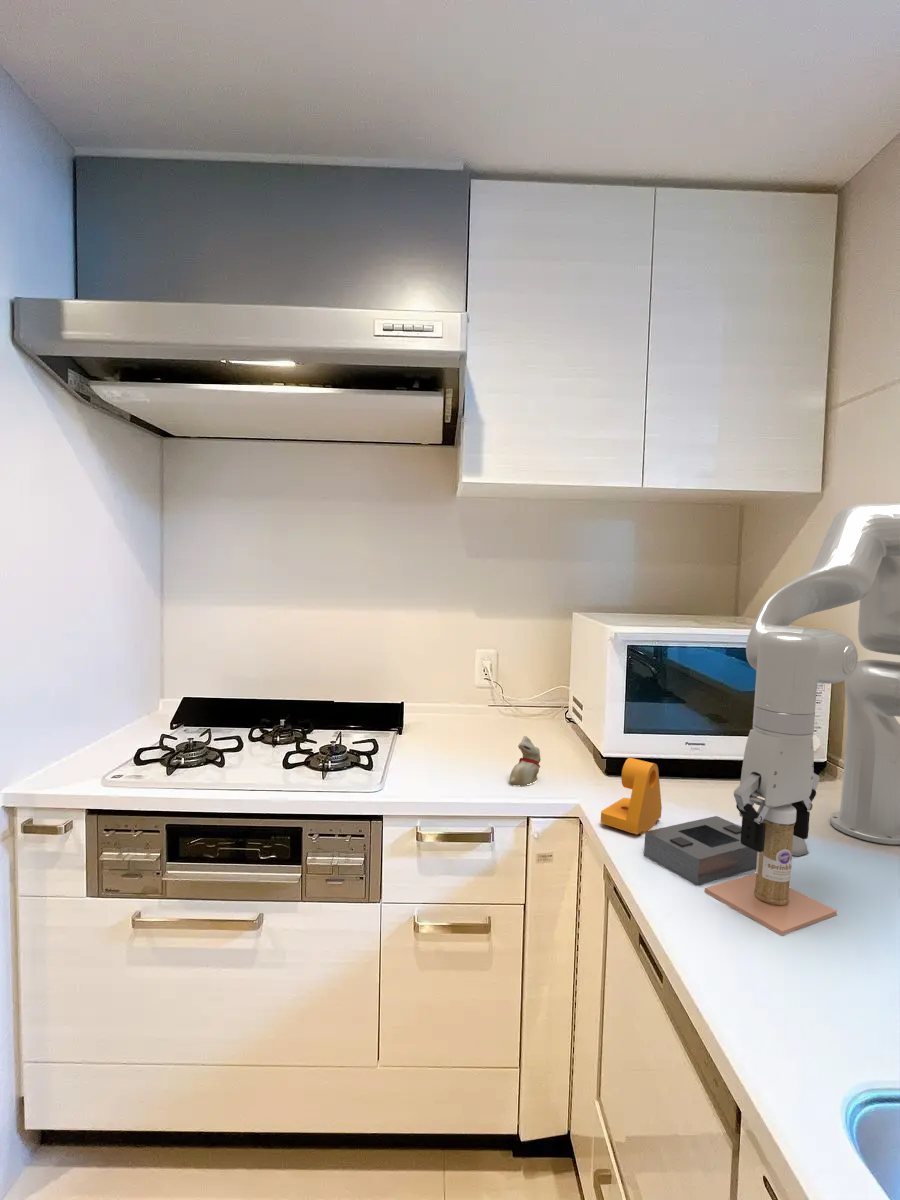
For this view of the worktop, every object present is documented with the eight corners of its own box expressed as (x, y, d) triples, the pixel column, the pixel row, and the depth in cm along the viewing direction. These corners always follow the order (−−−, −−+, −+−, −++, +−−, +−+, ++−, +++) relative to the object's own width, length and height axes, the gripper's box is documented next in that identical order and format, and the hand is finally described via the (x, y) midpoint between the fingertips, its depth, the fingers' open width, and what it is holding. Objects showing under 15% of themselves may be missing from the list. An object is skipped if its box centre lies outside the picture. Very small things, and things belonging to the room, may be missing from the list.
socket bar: (714, 838, 112) (716, 814, 112) (770, 864, 103) (772, 838, 103) (643, 855, 104) (645, 830, 104) (697, 885, 95) (699, 858, 95)
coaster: (758, 875, 99) (758, 872, 99) (836, 915, 88) (836, 910, 88) (704, 892, 93) (704, 887, 93) (781, 935, 83) (782, 931, 83)
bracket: (623, 810, 123) (627, 749, 123) (660, 821, 119) (664, 757, 118) (598, 826, 115) (602, 761, 114) (637, 839, 111) (641, 770, 110)
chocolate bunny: (546, 785, 136) (549, 738, 135) (512, 787, 134) (514, 739, 133) (535, 776, 141) (538, 731, 141) (502, 778, 139) (504, 732, 138)
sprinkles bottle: (773, 909, 88) (780, 812, 87) (746, 892, 92) (753, 800, 91) (797, 903, 90) (804, 808, 89) (769, 887, 94) (775, 797, 93)
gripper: (795, 710, 97) (787, 821, 98) (718, 720, 88) (710, 841, 90) (846, 722, 90) (837, 841, 91) (767, 734, 82) (758, 865, 83)
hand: (774, 841), depth 90 cm, fingers open, 9 cm apart
